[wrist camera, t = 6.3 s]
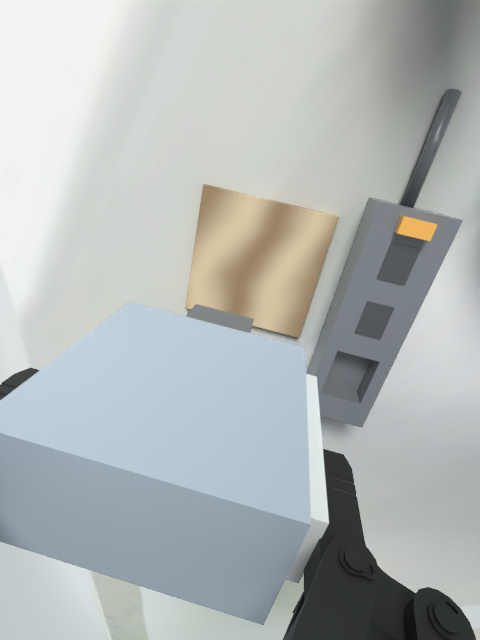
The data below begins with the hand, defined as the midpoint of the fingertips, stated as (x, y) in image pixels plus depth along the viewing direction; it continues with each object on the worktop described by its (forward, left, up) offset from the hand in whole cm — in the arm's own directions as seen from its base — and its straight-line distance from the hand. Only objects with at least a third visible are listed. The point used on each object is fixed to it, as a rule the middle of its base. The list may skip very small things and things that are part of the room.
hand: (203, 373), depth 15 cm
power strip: (-11, -2, -19) cm, 22 cm away
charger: (0, 0, -3) cm, 3 cm away
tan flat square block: (0, 0, -19) cm, 19 cm away
